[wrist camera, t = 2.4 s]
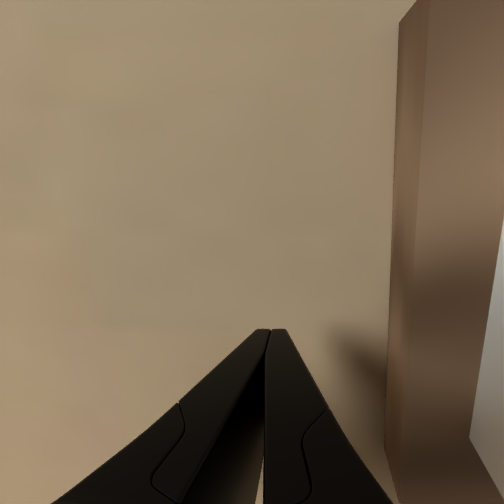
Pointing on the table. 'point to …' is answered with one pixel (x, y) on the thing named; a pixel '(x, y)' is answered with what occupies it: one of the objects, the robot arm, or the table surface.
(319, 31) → the table surface
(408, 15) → the brown flat block
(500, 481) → the white panel with tab
